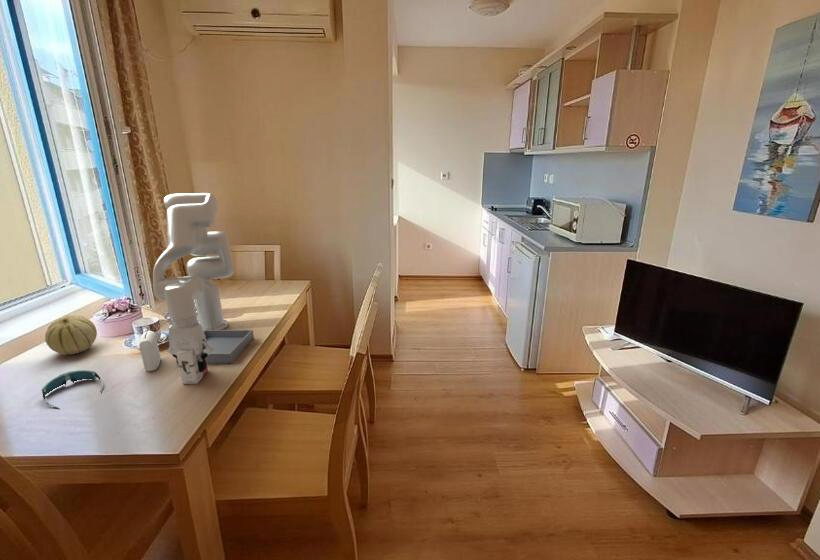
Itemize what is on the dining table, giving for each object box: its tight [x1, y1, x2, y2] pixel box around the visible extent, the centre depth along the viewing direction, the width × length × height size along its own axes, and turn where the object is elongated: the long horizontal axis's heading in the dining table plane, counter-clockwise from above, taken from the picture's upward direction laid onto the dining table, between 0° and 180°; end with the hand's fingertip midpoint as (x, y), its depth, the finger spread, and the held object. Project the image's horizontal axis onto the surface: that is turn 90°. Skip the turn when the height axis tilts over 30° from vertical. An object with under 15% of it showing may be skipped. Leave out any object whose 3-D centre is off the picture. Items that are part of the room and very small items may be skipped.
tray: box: [175, 329, 255, 365], centre depth 147 cm, size 20×20×4 cm
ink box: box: [176, 350, 209, 385], centre depth 128 cm, size 9×5×12 cm, turn 5°
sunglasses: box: [41, 369, 104, 408], centre depth 121 cm, size 14×15×5 cm
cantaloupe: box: [44, 314, 98, 355], centre depth 145 cm, size 15×15×15 cm
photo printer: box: [138, 330, 162, 372], centre depth 136 cm, size 10×4×12 cm, turn 26°
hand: (194, 369), depth 129 cm, fingers closed on ink box, 5 cm apart
